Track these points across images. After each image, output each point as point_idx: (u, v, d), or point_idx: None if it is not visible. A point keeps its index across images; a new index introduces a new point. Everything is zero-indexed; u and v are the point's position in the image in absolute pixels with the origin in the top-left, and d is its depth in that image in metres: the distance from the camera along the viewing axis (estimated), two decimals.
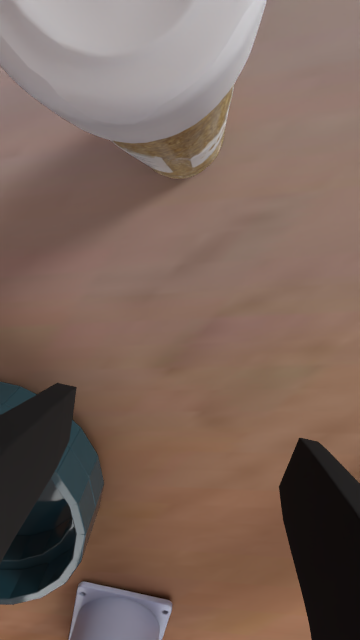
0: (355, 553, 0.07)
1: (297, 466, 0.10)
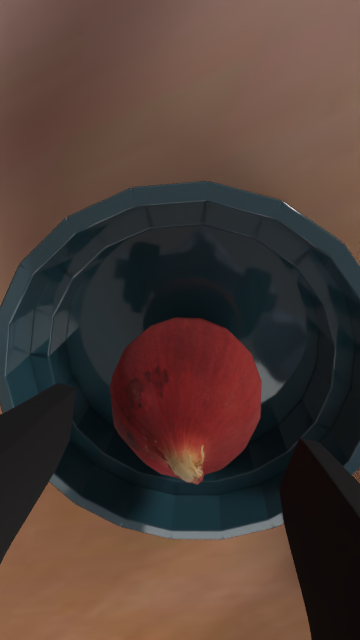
0: (355, 553, 0.07)
1: (297, 466, 0.10)
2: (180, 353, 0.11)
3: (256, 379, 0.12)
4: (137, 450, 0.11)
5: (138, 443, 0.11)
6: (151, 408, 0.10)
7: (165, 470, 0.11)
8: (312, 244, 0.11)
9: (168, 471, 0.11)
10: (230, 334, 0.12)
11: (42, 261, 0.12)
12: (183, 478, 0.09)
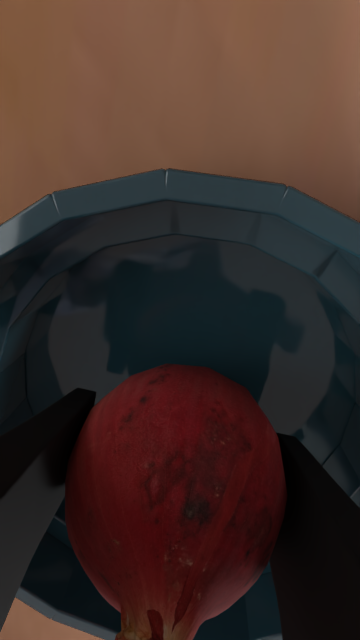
0: (322, 545, 0.07)
1: None
2: None
3: None
4: (178, 521, 0.06)
5: (194, 540, 0.06)
6: (239, 575, 0.07)
7: (128, 553, 0.06)
8: (269, 636, 0.11)
9: (124, 557, 0.06)
10: None
11: None
12: None
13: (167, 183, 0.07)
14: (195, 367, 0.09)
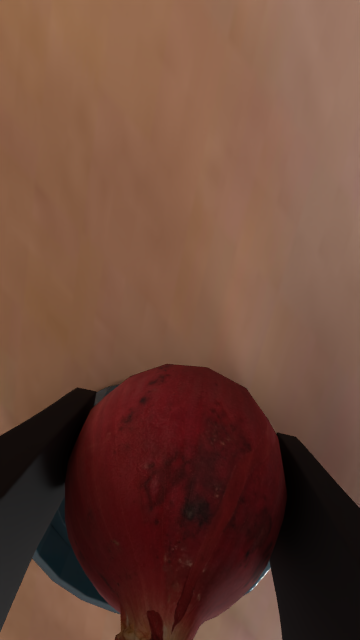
0: (322, 545, 0.07)
1: None
2: None
3: None
4: (177, 522, 0.06)
5: (194, 541, 0.06)
6: (239, 576, 0.07)
7: (127, 553, 0.06)
8: None
9: (124, 557, 0.06)
10: None
11: None
12: None
13: None
14: (195, 368, 0.09)
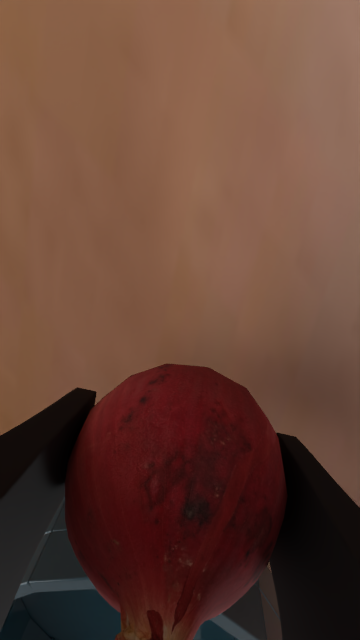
0: (322, 546, 0.07)
1: None
2: None
3: None
4: (177, 521, 0.06)
5: (194, 540, 0.06)
6: (239, 576, 0.07)
7: (127, 553, 0.06)
8: None
9: (124, 557, 0.06)
10: None
11: None
12: None
13: None
14: (195, 367, 0.09)
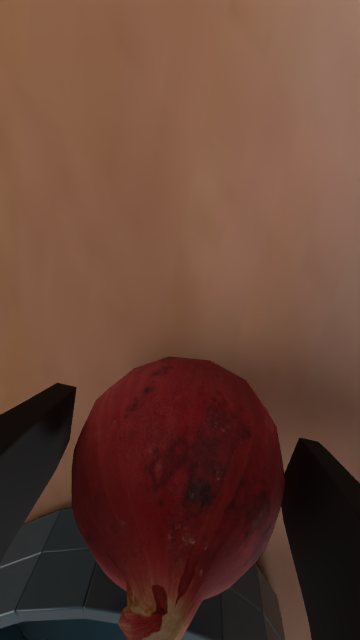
0: (355, 553, 0.07)
1: (297, 466, 0.10)
2: None
3: None
4: (181, 502, 0.07)
5: (196, 520, 0.07)
6: (239, 555, 0.07)
7: (133, 532, 0.07)
8: None
9: (130, 536, 0.07)
10: None
11: None
12: None
13: (85, 612, 0.11)
14: (196, 360, 0.10)
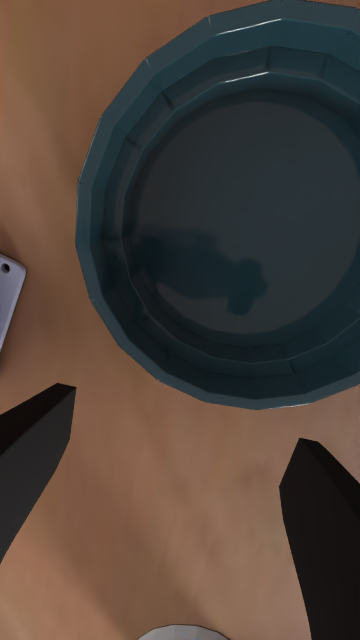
0: (355, 553, 0.07)
1: (297, 466, 0.10)
2: None
3: None
4: None
5: None
6: None
7: None
8: (319, 388, 0.15)
9: None
10: None
11: None
12: None
13: (282, 8, 0.11)
14: None
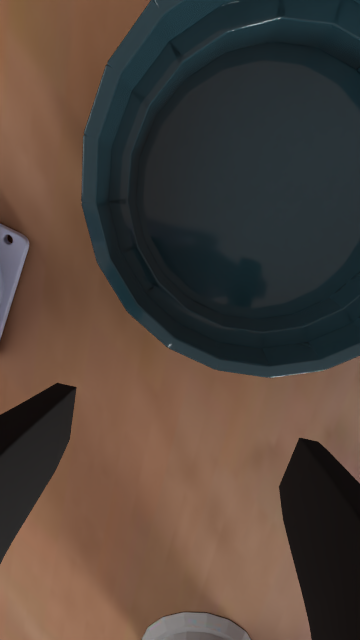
0: (355, 553, 0.07)
1: (297, 466, 0.10)
2: None
3: None
4: None
5: None
6: None
7: None
8: (336, 353, 0.15)
9: None
10: None
11: None
12: None
13: None
14: None
